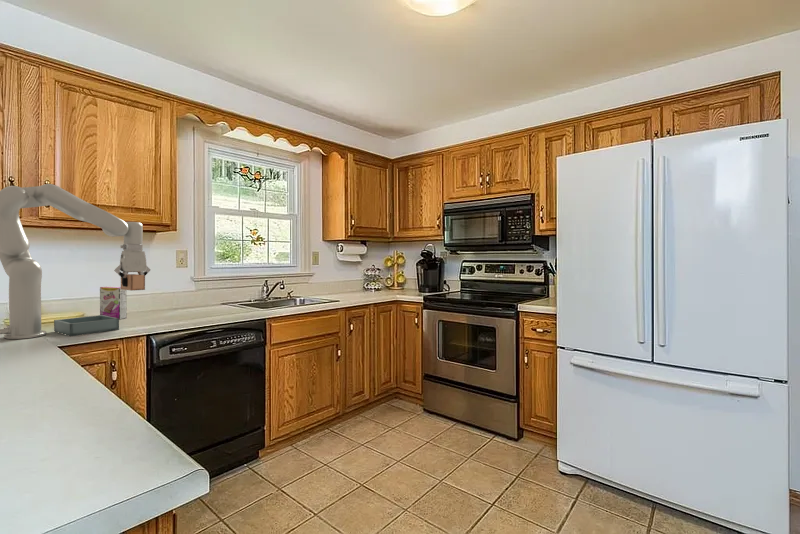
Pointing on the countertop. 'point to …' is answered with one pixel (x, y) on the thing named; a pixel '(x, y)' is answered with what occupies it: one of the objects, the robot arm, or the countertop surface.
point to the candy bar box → (113, 302)
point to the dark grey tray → (86, 325)
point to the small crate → (134, 282)
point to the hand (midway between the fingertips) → (132, 285)
